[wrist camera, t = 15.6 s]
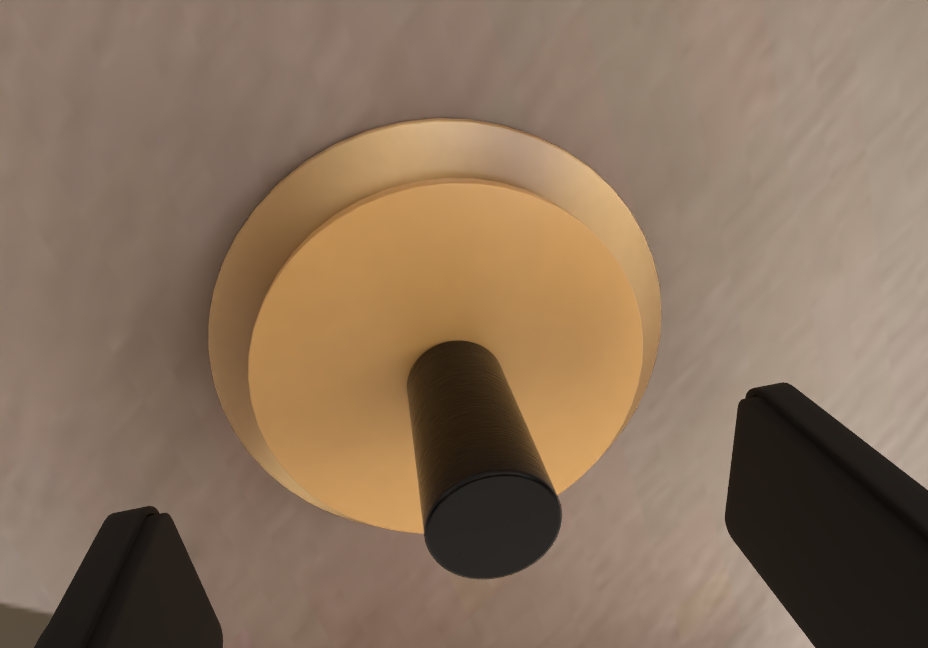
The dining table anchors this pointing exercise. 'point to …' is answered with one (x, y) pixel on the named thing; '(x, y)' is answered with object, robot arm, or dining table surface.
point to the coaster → (386, 166)
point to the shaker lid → (448, 366)
